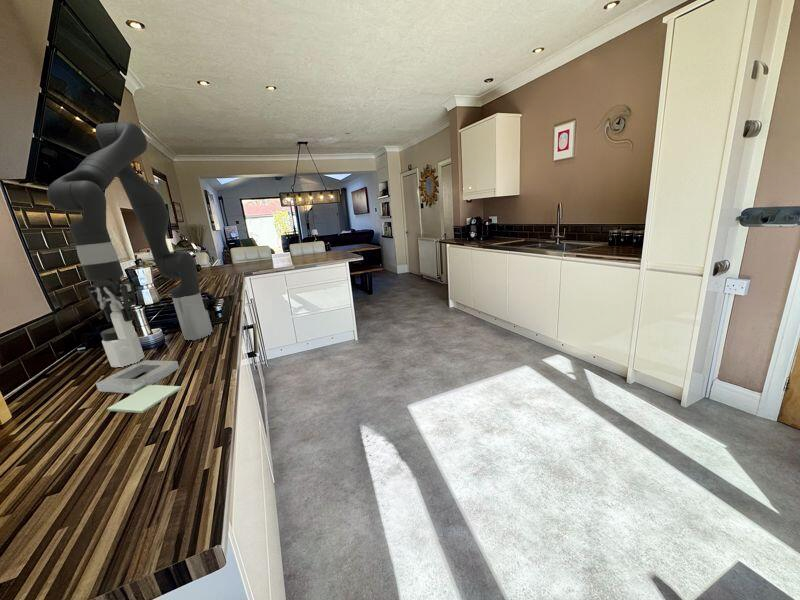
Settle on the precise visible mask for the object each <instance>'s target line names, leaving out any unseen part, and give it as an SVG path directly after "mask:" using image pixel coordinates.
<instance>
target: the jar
mask: <svg viewBox="0 0 800 600" xmlns="http://www.w3.org/2000/svg"><path fill="white" fill-rule="evenodd" d="M134 332H135V335H136V338H135V339H132V340H129V341H120V340H119V339H118V336H117V334H116V331H115V328H114V326H113V327H110V328H108V329H105V330H103V331H101V332H100V337H101V338H102V340H101V343H102V346H103V349H104V352H105V355H106V357H107V359H108V362H109V364H110V368H117V367H122V368H125V367H124V366H126V367H128V366H127V365H129V366H131V365H130V364H132V365H135V364H138V363H140V362H141V361H142V360H143V359H144V358H145V357H146V356H145V354H144V353H145V352H144V351H143V350H144V349H143V348H142V345H141V341H140V339H139V338H140V337H139V336H138V332H136V331H134ZM141 359H142V360H141ZM140 360H141V361H140ZM137 362H138V363H137ZM134 363H135V364H134Z"/></svg>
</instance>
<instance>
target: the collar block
mask: <svg viewBox="0 0 800 600" xmlns="http://www.w3.org/2000/svg"><path fill="white" fill-rule="evenodd" d="M177 369H178V370H179V369H180V366H179V363H178V361H177V360H148V359H147V360H145V359H144V360H141V361H139V362H138V363H135V364H132V365H129V366H127V367H126V368H124V369H121V370H120V371H117V372H115V373H113V374H111V375H109V376H107V377H105V378H104V379H102V380H100V381H98V382H96V383H95V385H96V389H97V390H98V392H104V393H117V394H118V393H119V394H122V393H123V394H134V393H136V392H137V391H139V390H141V389H143V388H144V387H146V386H148V385H155V384H156V383H158V382H159V381H162V380H163V379H165V378H166V377H168V376H170V375H172V374H173V373H174V372H175V371H177ZM143 373H145V374H143ZM141 374H143V375H141ZM139 375H141V376H139ZM138 376H139V377H138ZM135 377H137V378H135Z"/></svg>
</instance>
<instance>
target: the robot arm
mask: <svg viewBox="0 0 800 600" xmlns="http://www.w3.org/2000/svg"><path fill="white" fill-rule="evenodd" d="M95 135H96V136H95V137H96V139H97V141H98V143H99V145H100V148H101V149H99V150H96V151H94V152H93V153H90V154H89V155H88V156H87V157H85V158H84V159H83V160H82V161H81V162H80V163H79V164H78V165H77V166H76V168H75V169H73V170H72V171H70V172H68V173H66V174H64V175H62V176H60V177H58V178H57V179H55V180H54V181H52V183H50V185H49V186H48V189H47V190H46V195H47V196H46V197H47V199H48V201H49V203H50V204H51V205H52V206H53V207H55V208H56V209H57V210H59V211H62V212H68V213H69V212H70V213H72V212H82V218H81V219H79V220H76V221H74V222H71V223H70V224H69V230H70V233H71V237H72V240H73V243H74V244H75V248H76V252H77V257H78V259H79V262H80V264H81V267H82V270H83V273H84V275H85V278H86V280H87V281H88V282H93V284H92V285H90V286H89V285H88V286H86V287H85V290H86V292H87V294H88V295H89V297H90V300H91V302H92V304H93V306H94V307H95V308H100V310H102V311H103V312H104V315H105V318H106V321H107V322H109V323H113V322H112V320H111V317H110V314H111V313H112V312H113V311H112V310H111V307H110V304H111V303H112V300H113V302H116V303H117V304H118V305H119V307H120V308H121V312H122V315H123V318H124V321H126V322H128V321H131V322H132V321H134V320H135V315H134V312H133V309H132V306H134V305H136V304H137V297H136V293H135V288H134V287H135V286H134V283H131V282H130V283H124V282H123V281H122V279H121V277H122V276H124V270H123V268H122V265H121V261H120V259H119V256H118V254H117V251H116V248H115V246H114V244H113V242H112V239H111V237H110V232H109V230H108V227H107V199H106V194H105V192H104V191H105V190H107V189H108V188H109V186H110V185H111V183H112V182H113V181H114V180H115V178H116V177H117V178H118V180H119V181H120V184H121V185H122V188H123V191H124V192H125V194H126V197H127V198H128V200H129V201H128V202H129V204H130V206H131V208H132V211H133V212H134V214H135V217H136V219H137V220H138V223H139V225H140V227H141V229H142V231H143V234H144V236H145V238H146V240H147V243H148V246H149V249H150V252H151V255H152V258H153V261H154V264H155V266H156V269H157V271H158V272H159V274H160V275H161V276H162V277H163V278H166V279H180V283H179V285H177V286H176V287H174V288H172V289H171V290H170V295H171V298H172V302H173V305H174V309H175V312H176V316H177V319H178V322H179V326H180V329H181V332H182V336H183V339H185V340H188V341H187V342H190V341H189V340H193V341H197V339H198V340H201V338H202V339H205V338H207V337H209V336H211V335H212V333H214V330H213V327H212V323H211V319H210V315H209V311H208V310H207V309H205V305H204V302H203V297H202V295H201V294H202V293H201V289H200V280H199V274H198V269H197V265H196V262H195V259H194V257H193V256H192V254H190V253H189V252H186V251H181V252H171V251H170V250H169V248H168V244H167V240H166V239H167V238H166V237H167V232H168V229H169V228H168V227H169V223H170V213H169V210H168V209H167V208H168V207H167V205H166V204H165V201H164V198H163V197H162V195H161V194H160V192H159V191H158V190H156V189H155V187H153V186H152V185H151V184H150V183H149V182H147V181H146V180H145V179H144V178H143V177H141V176H140V175H139V174H138V172H136V170H135V169H134V167H133V166H132V162H133V161H134V160H135V159H137V158H138V157H140V156H141V155H143V154H144V153H145V152H146V150H147V149H148V139H147V137H146V135H145V133H144V131H143V130H142V129H141V128H140V127H139V126H138V125H137V124H136V123H133V122H130V121H117V122H107V123H106V122H105V123H99V124H98V125H96V127H95ZM129 298H130V299H129ZM122 301H123V302H122ZM211 332H212V333H211ZM208 335H209V336H208ZM206 336H207V337H206ZM204 337H205V338H204ZM185 340H184V341H185Z"/></svg>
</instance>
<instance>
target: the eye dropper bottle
mask: <svg viewBox="0 0 800 600" xmlns="http://www.w3.org/2000/svg"><path fill="white" fill-rule="evenodd" d="M110 307H111V310H112V311H113V312H112V313H111V314H110V317H111V320H112V322H111V323H112V325H113V327H114V328H115V331H116V334H117V336H118V339H119V340H120V341H129V340H132V339H135V338H136V335H135V332H136V331H135V330H134V327H133V323H132V320H131V321H128V322H126V321H124V318H123V315H122V312H121V308H120V307H119V305H118V304H117V303H116V302H113V300H112V303H111V304H110Z"/></svg>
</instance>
